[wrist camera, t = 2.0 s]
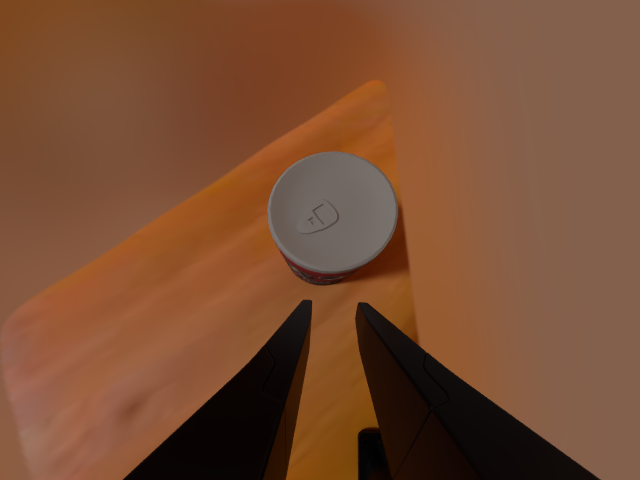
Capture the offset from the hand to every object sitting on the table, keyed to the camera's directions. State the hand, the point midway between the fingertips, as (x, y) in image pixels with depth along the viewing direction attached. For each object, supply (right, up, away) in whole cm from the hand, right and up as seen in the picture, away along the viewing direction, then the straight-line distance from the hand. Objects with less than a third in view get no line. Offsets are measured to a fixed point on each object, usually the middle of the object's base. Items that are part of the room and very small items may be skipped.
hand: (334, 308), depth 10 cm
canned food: (0, +2, +14) cm, 14 cm away
